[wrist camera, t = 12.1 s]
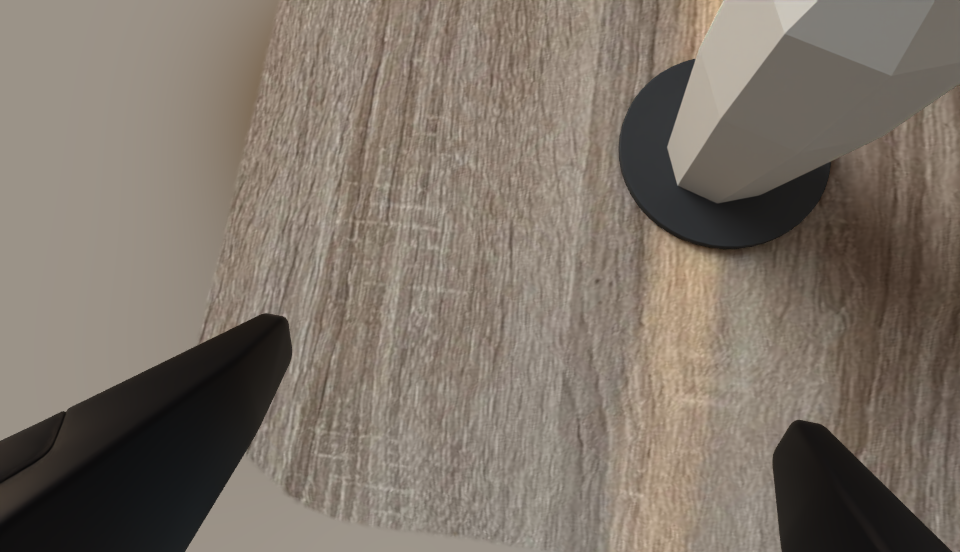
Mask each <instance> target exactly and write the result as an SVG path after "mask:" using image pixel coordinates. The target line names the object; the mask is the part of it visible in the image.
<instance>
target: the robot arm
mask: <svg viewBox="0 0 960 552" xmlns="http://www.w3.org/2000/svg"><path fill="white" fill-rule="evenodd" d="M291 357H292V345H291V338H290V331H289V324H288V321H287V319H286V318H285V317H283V316H278V315H273V314H268V313H265V314H261V315H259V316H257V317H255V318H253V319H251V320H249V321H247V322H245V323H243V324H241V325H239V326H236V327H234V328H232V329H230V330H228V331H226V332H224V333H222V334H220V335H218V336H216V337H214V338H212V339H210V340H208V341H206V342H204V343H202V344H200V345H198V346H195V347H194V348H191V349H189V350H187V351H185V352H183V353H181V354H179V355H177V356H175V357H173V358H171V359H169V360H167V361H165V362H163V363H161V364H159V365H157V366H155V367H152V368H151V369H148V370H146V371H144V372H142V373H140V374H138V375H136V376H134V377H132V378H130V379H128V380H126V381H124V382H122V383H120V384H118V385H116V386H114V387H112V388H110V389H107V390H105V391H103V392H101V393H99V394H97V395H95V396H93V397H91V398H89V399H87V400H85V401H83V402H81V403H79V404H77V405H75V406H72V407H70V408H69V409H68V410H67V412H64V411H63V412H60V413H58V414H56V415H54V416H52V417H50V418H48V419H46V420H44V421H42V422H39V423H38V424H35V425H33V426H31V427H29V428H27V429H25V430H22V431H20V432H18V433H16V434H14V435H12V436H10V437H8V438H5V439H3V440H1V441H0V552H185V551H186V549H187V547H188V546H189V544H190V543H191V541H192V539H193V538H194V536H195V534H196V533H197V531H198V529H199V528H200V526H201V524H202V523H203V521H204V519H205V518H206V516H207V515H208V513H209V511H210V509H211V508H212V506H213V505H214V503H215V501H216V500H217V498H218V496H219V495H220V493H221V492H222V490H223V488H224V487H225V485H226V483H227V482H228V480H229V478H230V477H231V475H232V473H233V472H234V470H235V468H236V467H237V465H238V463H239V462H240V460H241V459H242V457H243V455H244V454H245V452H246V450H247V449H248V447H249V445H250V444H251V442H252V440H253V439H254V437H255V435H256V433H257V431H258V429H259V427H260V425H261V423H262V421H263V419H264V417H265V415H266V413H267V411H268V409H269V406H270V404H271V402H272V400H273V398H274V396H275V393H276V391H277V389H278V387H279V385H280V383H281V381H282V378H283V376H284V374H285V372H286V370H287V368H288V366H289V363H290V361H291ZM773 474H774V484H775V493H776V503H777V513H778V523H779V533H780V541H781V549H782V552H952V551H951V550H950V549H949V548H948V547H947V546H946V545H945V544H944V543H943V542H942V541H941V540H940V539H939V538H938V537H937V536H936V535H935V534H934V533H933V532H932V531H931V530H930V529H928V528H927V527H926V526H925V525H924V524H923V523H922V522H921V521H920V520H919V519H918V518H917V517H916V516H915V515H914V514H913V513H912V512H911V511H910V510H909V509H908V508H907V507H906V506H905V505H904V504H903V503H902V502H901V501H900V500H899V499H898V498H897V497H896V496H895V495H894V494H893V493H892V492H891V491H890V490H889V489H888V488H887V487H886V486H885V485H884V484H883V483H882V482H881V481H880V480H879V479H878V478H877V477H876V476H875V475H874V474H873V473H872V472H871V471H869V470H868V469H867V468H866V467H865V466H864V465H863V464H862V463H861V462H860V461H859V460H858V459H857V458H856V457H855V456H854V455H853V454H852V453H851V452H850V451H849V450H848V449H847V448H846V447H845V446H844V445H843V444H842V443H841V442H840V441H839V440H838V439H837V438H836V437H835V436H834V435H833V434H832V433H831V432H830V431H829V430H828V429H827V428H825V427H824V426H823V425H821V424H818V423H813V422H808V421H803V420H796V421H794V422H792V423H791V425H790V426H789V428H788V429H787V431H786V433H785V434H784V436H783V438H782V439H781V441H780V442H779V444H778V446H777V447H776V449H775V451H774V454H773Z"/></svg>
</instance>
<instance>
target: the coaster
mask: <svg viewBox="0 0 960 552" xmlns="http://www.w3.org/2000/svg"><path fill="white" fill-rule="evenodd" d="M695 60H696V59H692V60H689V61H685V62H682V63H680V64H678V65H675V66H673V67H671V68H669V69H667V70H665V71H664V72H662V73H660V74H659V75H658V76H656V77H655V78H654V79H652V80H651V81H650V82H649V83H648V84H647V85H646V86H645V87H644V88H643V89H642V90H641V91H640V92H639V94H638V95H637V96H636V98H635V99H634V101H633V102H632V104H631V106H630V108H629V109H628V112H627V114H626V117H625V119H624V122H623V125H622V129H621V133H620V139H619V161H620V166H621V171H622V174H623V177H624V180H625V183H626V185H627V187H628V190H629V192H630V194H631V195H632V197H633V198H634V200H635V201H636V203H637V204H638V206H639V207H640V208H641V209H642V210H643V212H644V213H645V214H646V215H647V216H648V217H649V218H650V219H651V220H653V221H654V222H655V223H656V224H657V225H658V226H660V227H661V228H663V229H664V230H666V231H667V232H669V233H670V234H672V235H674V236H676V237H678V238H680V239H682V240H685V241H688V242H690V243H693V244H696V245H701V246H705V247H710V248H719V249H739V248H746V247H752V246H756V245H760V244H763V243H766V242H768V241H771V240H773V239H776V238H778V237H779V236H781V235H783V234H785V233H786V232H788V231H790V230H791V229H793V228H794V227H795V226H797V225H798V224H799V223H800V222H802V221H803V220H804V219H805V218H806V217H807V215H808V214H809V213H810V212H811V211H812V210H813V208H814V207H815V206H816V204H817V203H818V201H819V200H820V198H821V196H822V194H823V192H824V190H825V187H826V184H827V181H828V177H829V172H830V166H831V162H828V163H826V164H824V165H822V166H820V167H818V168H816V169H814V170H812V171H810V172H808V173H805V174H803V175H801V176H799V177H797V178H795V179H793V180H791V181H789V182H787V183H785V184H782V185H780V186H778V187H776V188H774V189H772V190H770V191H768V192H766V193H764V194H761V195H759V196H754V197H749V198H743V199H738V200H733V201H728V202H722V203H715V202H713V201H711V200H708V199H706V198H704V197H702V196H700V195H697V194H695V193H693V192H691V191H688V190H686V189H684V188H682V187H680V186H677V182H676V178H675V175H674V171H673V167H672V163H671V160H670V156H669V152H668V149H667V146H668V143H669V140H670V137H671V134H672V131H673V128H674V124H675V121H676V118H677V115H678V112H679V109H680V106H681V103H682V100H683V97H684V94H685V91H686V88H687V84H688V81H689V78H690V75H691V72H692V69H693V66H694V63H695Z"/></svg>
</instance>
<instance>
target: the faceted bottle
mask: <svg viewBox="0 0 960 552" xmlns="http://www.w3.org/2000/svg"><path fill="white" fill-rule="evenodd" d="M959 84H960V0H723V2H722V4H721V6H720V8H719V10H718V12H717V14H716V16H715V18H714V20H713V22H712V24H711V26H710V28H709V30H708V32H707V34H706V36H705V38H704V40H703V42H702V44H701V46H700V48H699V51H698V54H697V57H696V60H695V63H694V66H693V69H692V72H691V75H690V78H689V81H688V84H687V88H686V91H685V94H684V97H683V100H682V103H681V106H680V109H679V112H678V115H677V118H676V121H675V124H674V128H673V131H672V134H671V137H670V140H669V143H668V146H667V149H668V152H669V156H670V160H671V163H672V167H673V171H674V175H675V178H676V182H677V186H680V187H682V188H684V189H686V190H688V191H691V192H693V193H695V194H697V195H700V196H702V197H704V198H706V199H708V200H711V201H713V202H715V203H722V202H728V201H733V200H738V199H743V198H749V197H754V196H759V195H761V194H764V193H766V192H768V191H770V190H772V189H774V188H776V187H778V186H780V185H782V184H785V183H787V182H789V181H791V180H793V179H795V178H797V177H799V176H801V175H803V174H805V173H808V172H810V171H812V170H814V169H816V168H818V167H820V166H822V165H824V164H826V163H828V162H831V161H833V160H835V159H837V158H839V157H841V156H843V155H845V154H847V153H849V152H851V151H854V150H856V149H858V148H860V147H862V146H864V145H866V144H868V143H870V142H872V141H875V140H877V139H879V138H881V137H883V136H884V135H886V134H887V133H889V132H890V131H892V130H893V129H895V128H896V127H897V126H899V125H900V124H902V123H903V122H905V121H906V120H908V119H909V118H911V117H912V116H913V115H915V114H916V113H918V112H919V111H921V110H922V109H924V108H925V107H927V106H928V105H930V104H931V103H932V102H934V101H935V100H937V99H938V98H940V97H941V96H943V95H944V94H946V93H947V92H948V91H950V90H951V89H953V88H954V87H956V86H957V85H959Z"/></svg>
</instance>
